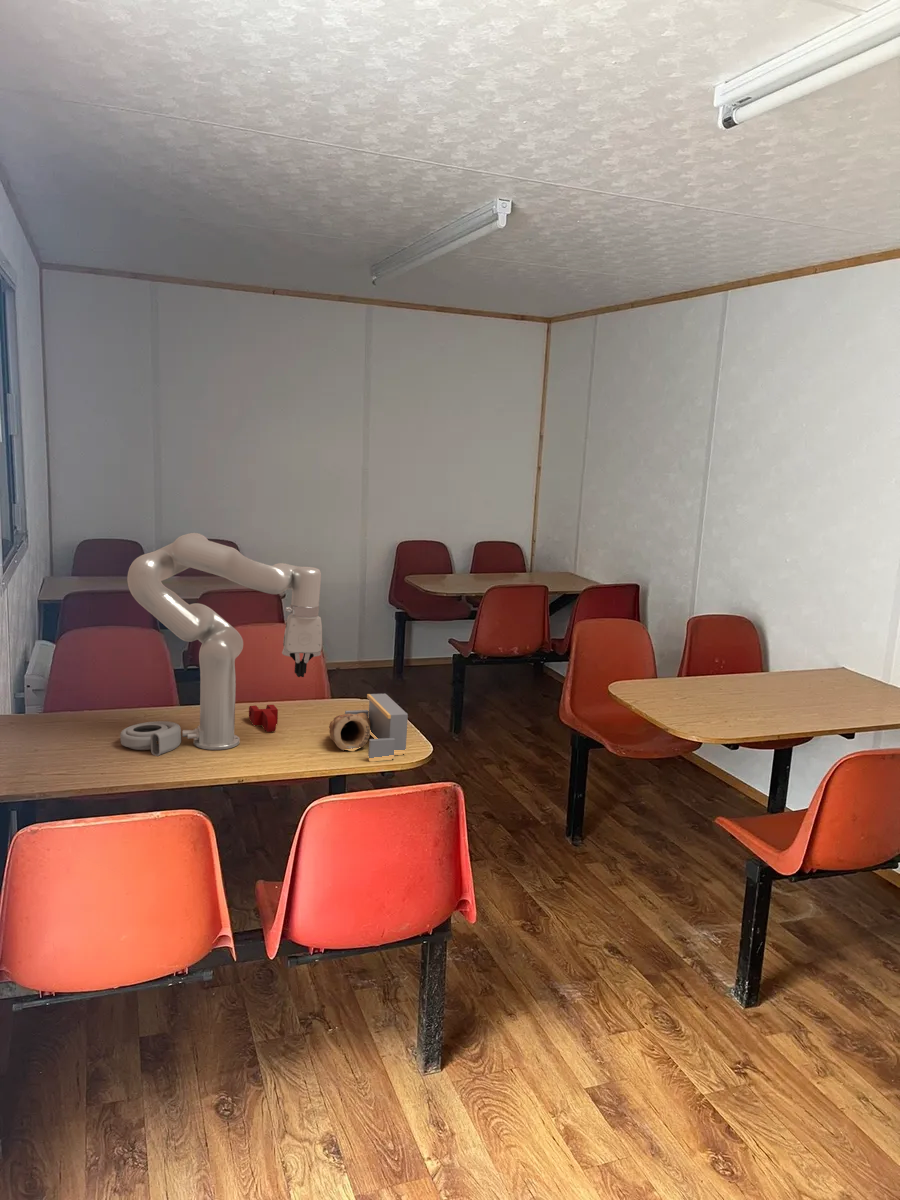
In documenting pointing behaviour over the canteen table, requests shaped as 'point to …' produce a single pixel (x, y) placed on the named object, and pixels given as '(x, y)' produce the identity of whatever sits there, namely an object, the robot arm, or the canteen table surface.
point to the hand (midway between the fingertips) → (299, 675)
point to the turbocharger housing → (152, 736)
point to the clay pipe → (350, 730)
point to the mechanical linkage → (264, 717)
